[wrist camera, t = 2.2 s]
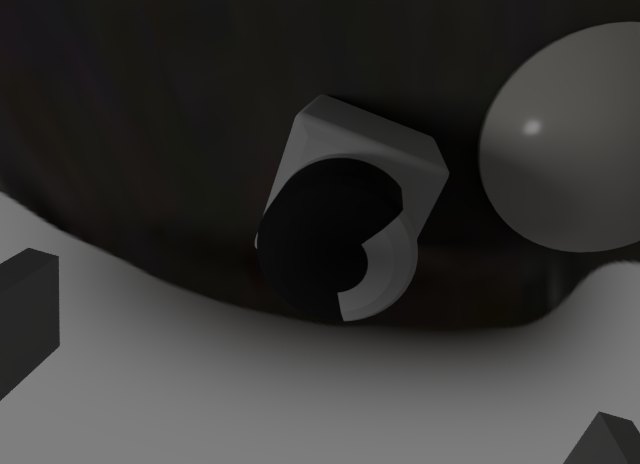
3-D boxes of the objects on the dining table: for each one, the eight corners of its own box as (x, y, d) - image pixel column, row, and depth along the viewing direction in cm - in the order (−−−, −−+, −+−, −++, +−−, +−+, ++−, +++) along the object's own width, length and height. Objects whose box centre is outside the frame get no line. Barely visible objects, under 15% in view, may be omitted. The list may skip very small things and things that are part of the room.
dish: (446, 213, 27) (449, 220, 26) (531, -5, 22) (538, -7, 21) (641, 266, 27) (652, 276, 26) (772, 57, 22) (793, 58, 21)
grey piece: (282, 201, 28) (216, 303, 17) (320, 91, 25) (268, 132, 14) (386, 242, 28) (386, 369, 18) (436, 137, 25) (473, 212, 15)
